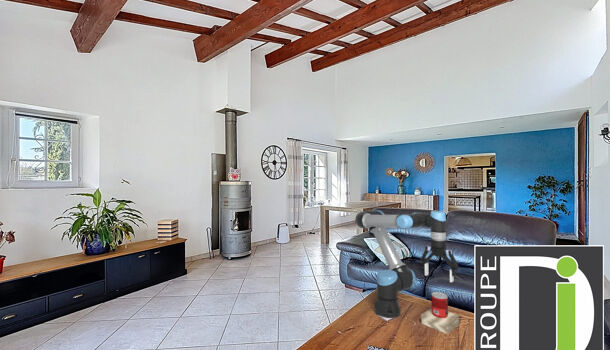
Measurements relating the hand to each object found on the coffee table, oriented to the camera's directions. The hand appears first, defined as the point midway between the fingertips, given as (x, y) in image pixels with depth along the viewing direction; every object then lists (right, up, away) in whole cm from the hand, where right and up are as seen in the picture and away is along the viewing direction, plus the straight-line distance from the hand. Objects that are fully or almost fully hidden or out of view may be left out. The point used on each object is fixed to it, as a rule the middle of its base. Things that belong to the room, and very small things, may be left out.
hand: (438, 278), depth 155 cm
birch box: (0, -25, -1) cm, 25 cm away
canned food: (0, -20, -1) cm, 20 cm away
